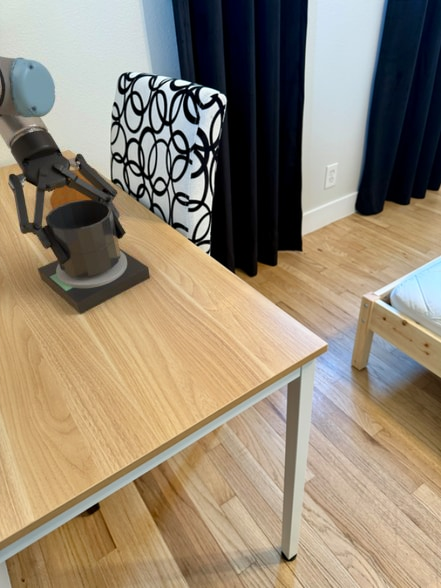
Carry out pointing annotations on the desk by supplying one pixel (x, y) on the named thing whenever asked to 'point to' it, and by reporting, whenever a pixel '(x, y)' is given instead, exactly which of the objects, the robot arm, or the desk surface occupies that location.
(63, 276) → the scale
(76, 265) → the cup
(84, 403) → the desk surface
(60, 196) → the bread
